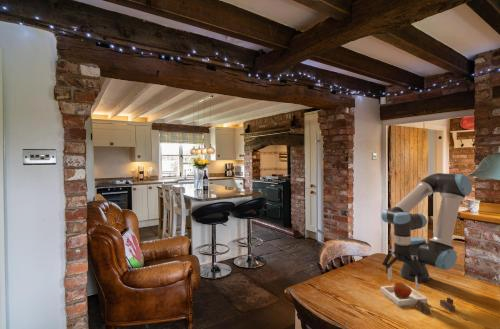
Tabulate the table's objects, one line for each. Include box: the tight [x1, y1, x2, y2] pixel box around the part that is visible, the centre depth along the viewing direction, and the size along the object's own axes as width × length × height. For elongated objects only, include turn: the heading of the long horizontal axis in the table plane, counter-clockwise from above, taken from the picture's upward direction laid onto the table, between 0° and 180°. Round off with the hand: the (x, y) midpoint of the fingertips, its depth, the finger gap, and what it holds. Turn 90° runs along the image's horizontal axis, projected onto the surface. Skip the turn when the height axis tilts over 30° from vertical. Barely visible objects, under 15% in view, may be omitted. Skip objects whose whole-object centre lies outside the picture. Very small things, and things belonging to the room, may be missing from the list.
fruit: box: [393, 281, 412, 299], centre depth 143 cm, size 8×8×8 cm
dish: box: [380, 284, 428, 308], centre depth 143 cm, size 15×15×3 cm
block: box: [415, 297, 456, 315], centre depth 132 cm, size 16×6×4 cm, turn 97°
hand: (403, 284), depth 143 cm, fingers open, 13 cm apart
